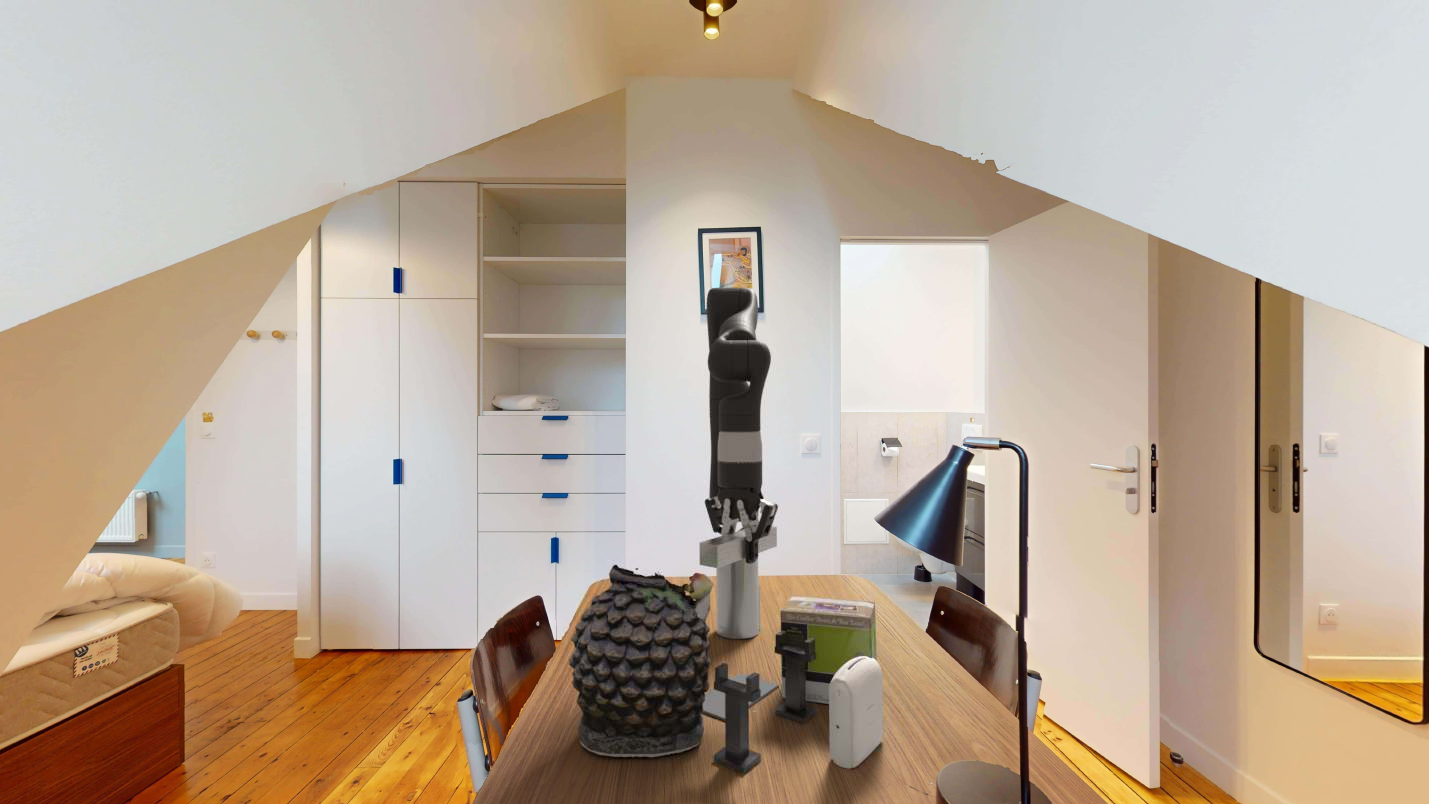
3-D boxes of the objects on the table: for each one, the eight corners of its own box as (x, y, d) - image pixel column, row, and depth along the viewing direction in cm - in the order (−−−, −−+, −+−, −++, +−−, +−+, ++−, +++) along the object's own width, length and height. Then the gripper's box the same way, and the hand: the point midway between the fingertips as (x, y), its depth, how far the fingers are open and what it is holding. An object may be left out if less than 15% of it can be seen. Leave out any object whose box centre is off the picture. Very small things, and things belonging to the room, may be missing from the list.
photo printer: (854, 773, 76) (853, 677, 77) (825, 761, 79) (824, 668, 79) (887, 741, 84) (886, 653, 85) (859, 731, 87) (858, 646, 87)
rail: (760, 543, 107) (759, 524, 107) (776, 546, 105) (776, 526, 105) (699, 564, 92) (699, 542, 92) (717, 568, 90) (717, 545, 90)
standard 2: (784, 703, 96) (783, 628, 96) (820, 714, 92) (819, 637, 92) (771, 712, 92) (771, 635, 93) (807, 725, 88) (807, 644, 89)
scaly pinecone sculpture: (712, 712, 92) (712, 553, 93) (714, 768, 77) (714, 578, 78) (580, 714, 92) (581, 554, 93) (556, 771, 77) (557, 579, 78)
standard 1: (726, 746, 83) (726, 660, 83) (765, 762, 79) (764, 671, 79) (709, 759, 80) (709, 669, 80) (748, 776, 76) (748, 682, 76)
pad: (740, 674, 106) (740, 672, 106) (778, 686, 101) (778, 684, 101) (687, 706, 94) (687, 704, 94) (727, 722, 89) (727, 719, 89)
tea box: (877, 686, 102) (876, 600, 102) (873, 713, 92) (872, 618, 93) (792, 674, 107) (791, 592, 107) (780, 699, 97) (779, 608, 98)
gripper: (787, 458, 98) (788, 562, 97) (719, 455, 106) (719, 550, 106) (764, 461, 92) (764, 572, 91) (693, 458, 100) (693, 559, 100)
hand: (740, 560), depth 98 cm, fingers closed on rail, 3 cm apart
